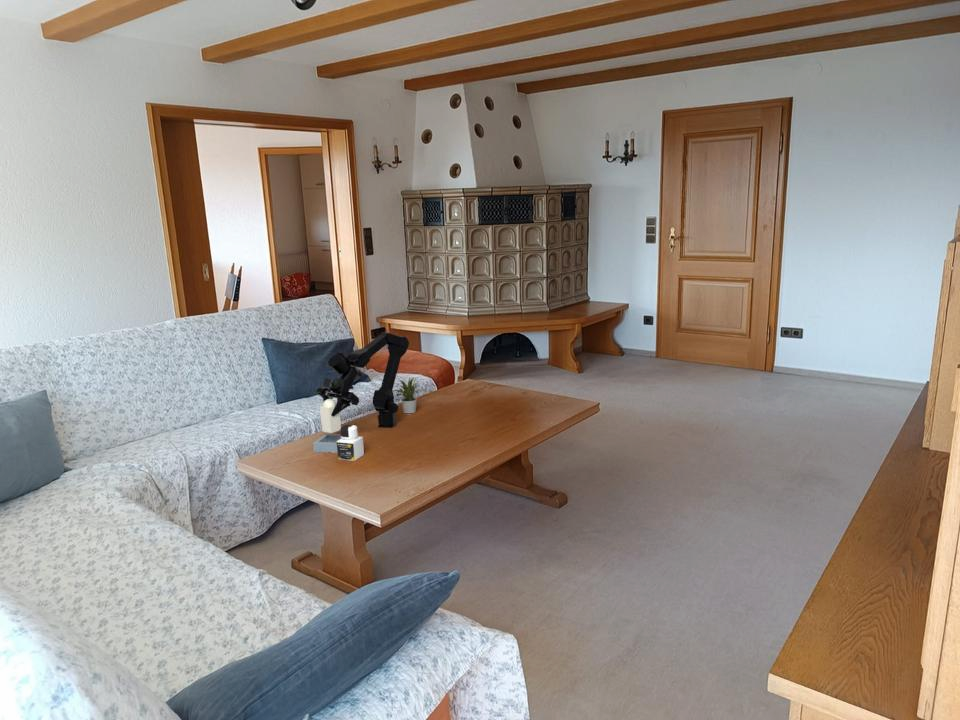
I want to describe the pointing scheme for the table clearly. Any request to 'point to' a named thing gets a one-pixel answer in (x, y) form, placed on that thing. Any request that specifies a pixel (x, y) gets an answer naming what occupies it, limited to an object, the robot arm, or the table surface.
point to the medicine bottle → (350, 444)
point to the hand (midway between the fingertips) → (327, 415)
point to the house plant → (408, 396)
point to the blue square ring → (327, 443)
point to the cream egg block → (329, 417)
